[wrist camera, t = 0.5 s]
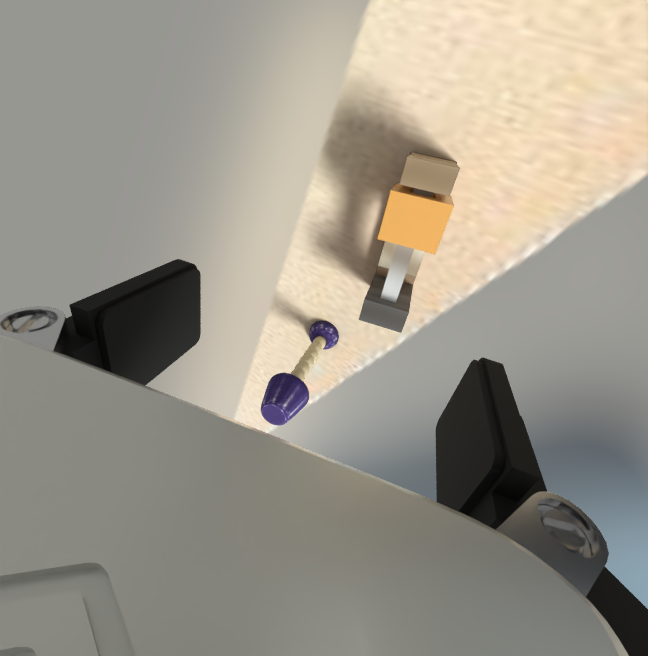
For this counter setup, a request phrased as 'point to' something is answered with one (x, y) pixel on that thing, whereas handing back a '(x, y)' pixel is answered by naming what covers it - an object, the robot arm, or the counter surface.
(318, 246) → the counter surface
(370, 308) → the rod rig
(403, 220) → the sleeve
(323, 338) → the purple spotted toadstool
